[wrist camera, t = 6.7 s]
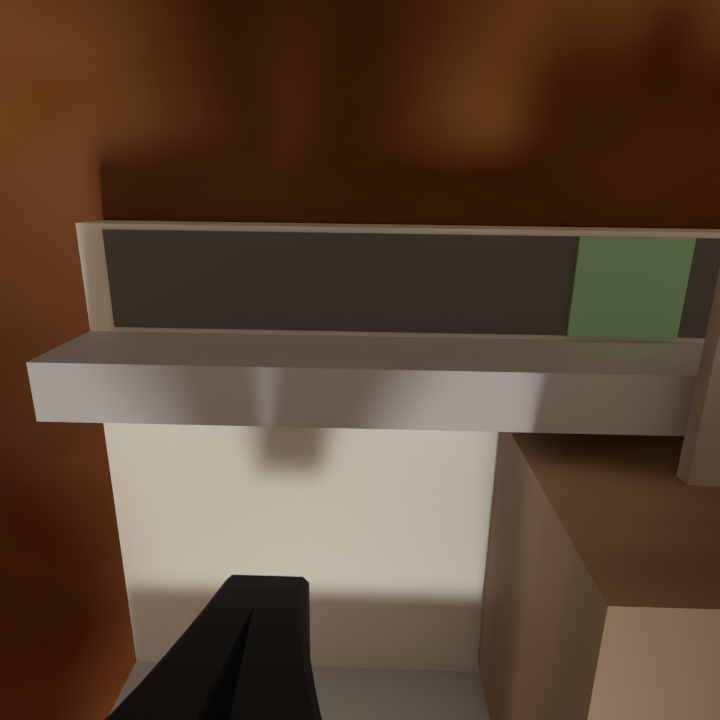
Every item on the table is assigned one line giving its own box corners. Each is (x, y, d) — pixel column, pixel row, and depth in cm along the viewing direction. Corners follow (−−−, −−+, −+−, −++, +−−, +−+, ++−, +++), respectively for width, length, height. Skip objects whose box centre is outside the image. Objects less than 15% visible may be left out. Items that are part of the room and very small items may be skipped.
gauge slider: (477, 662, 12) (542, 962, 7) (519, 242, 9) (664, 294, 5) (701, 669, 12) (914, 979, 7) (810, 246, 9) (1262, 304, 5)
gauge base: (164, 718, 15) (28, 1057, 9) (101, 220, 11) (-210, 255, 5) (845, 741, 14) (1163, 1113, 8) (1035, 233, 10) (1857, 287, 5)
